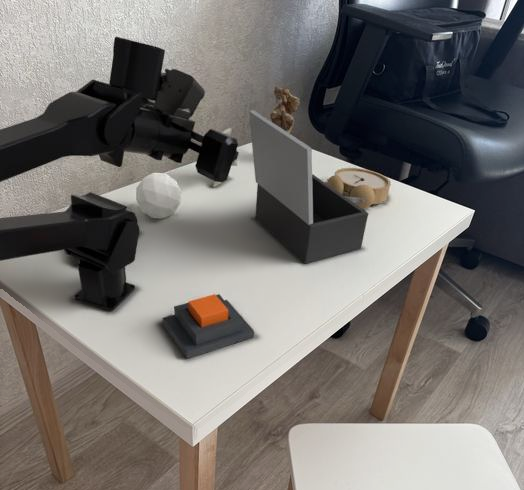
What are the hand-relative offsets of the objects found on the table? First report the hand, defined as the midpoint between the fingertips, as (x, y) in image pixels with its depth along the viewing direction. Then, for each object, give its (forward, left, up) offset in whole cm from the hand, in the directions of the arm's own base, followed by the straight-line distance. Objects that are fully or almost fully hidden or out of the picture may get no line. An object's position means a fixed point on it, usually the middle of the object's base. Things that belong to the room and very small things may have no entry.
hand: (214, 144), depth 89 cm
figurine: (+35, +1, -16) cm, 38 cm away
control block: (-25, -11, -15) cm, 31 cm away
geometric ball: (+1, +11, -16) cm, 19 cm away
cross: (+19, +7, -16) cm, 25 cm away
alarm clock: (+26, -19, -16) cm, 36 cm away
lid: (+2, -11, -2) cm, 11 cm away
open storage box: (+7, -15, -15) cm, 22 cm away
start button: (-25, -11, -13) cm, 30 cm away
